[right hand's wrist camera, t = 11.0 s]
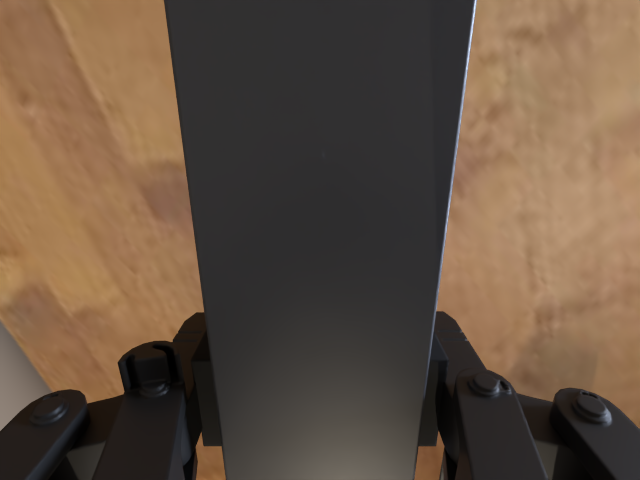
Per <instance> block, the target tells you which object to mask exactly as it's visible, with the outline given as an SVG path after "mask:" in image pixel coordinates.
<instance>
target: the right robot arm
mask: <svg viewBox="0 0 640 480" xmlns="http://www.w3.org/2000/svg"><path fill="white" fill-rule="evenodd" d="M118 366H119V370H120V375H121V379H122V383H123V387H124V391H125V392H124V394H123V395H120V396H117V397H113V398H109V399H105V400H101V401H96V402H92V403H88V404H87V401H86V398H85V395H84V394H82V393H81V392H80V391H77V390H71V389H69V390H61V391H56V392H53V393H50V394H47V395H45V396H43V397H41V398H39V399H37V400H35V401H33V402H31V403H30V404H29V405H28V406H26V407H25V408H24V409H23V410H21V411H20V412H19V413H18V414H17V415H16V416H15V417H14V418H13V419H12V420H11V421H10V422H9V423H8V424H7V425H6V426H5V427H4V428H3V429H2V430H1V431H0V480H196V474H197V463H198V460H197V453H196V444H197V442H198V439H199V436H200V433H201V432H202V438H203V445H204V446H222V444H221V436H220V429H219V421H218V413H217V406H216V398H215V390H214V382H213V375H212V367H211V359H210V352H209V344H208V336H207V328H206V321H205V313H195V314H194V315H193V316H191V317H190V318H188V319H187V320H186V321H185V322H184V323H183V325H182V326H181V328H180V330H179V331H178V334H176V336H175V337H174V339H173V342H168V341H153V342H149V343H144V344H142V345H139V346H137V347H135V348H133V349H131V350H130V351H128V352H127V353H126V354H124V355H123V356H122V357H121V359H120V360H119V362H118ZM438 430H439V433H440V435H441V438H442V441H443V443H444V446H445V447H444V453H443V459H442V465H441V471H440V478H439V480H640V429H639V428H638V427H637V426H636V425H635V424H634V423H633V422H632V421H631V420H630V419H629V418H628V417H627V416H626V415H625V414H624V413H623V412H622V411H621V410H620V409H618V408H617V407H616V406H615V405H613V404H612V403H611V402H610V401H608V400H606V399H604V398H602V397H601V396H599V395H597V394H595V393H592V392H589V391H586V390H583V389H575V388H566V389H560V390H559V391H558V392H557V393H556V394H555V397H554V400H553V402H550V401H546V400H541V399H537V398H533V397H528V396H525V395H521V394H518V393H516V391H515V390H514V388H513V387H512V385H511V384H510V383H509V382H508V381H507V380H506V379H504V378H503V377H502V376H500V375H498V374H496V373H494V372H492V371H490V370H487V369H486V368H485V366H484V365H483V363H482V361H481V360H480V358H479V357H478V355H477V354H476V352H475V350H474V349H473V347H472V346H471V344H470V343H469V341H467V338H466V336H465V335H464V333H463V332H462V330H461V329H460V327H459V325H458V324H457V322H456V321H455V320H454V319H453V318H452V317H450V316H449V315H447V314H446V313H445V312H443V311H436V316H435V324H434V331H433V339H432V347H431V354H430V362H429V370H428V377H427V385H426V393H425V400H424V408H423V415H422V423H421V431H420V438H419V446H436V443H437V436H438Z"/></svg>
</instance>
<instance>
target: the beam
mask: <svg viewBox="0 0 640 480" xmlns="http://www.w3.org/2000/svg"><path fill="white" fill-rule="evenodd" d="M476 2H477V0H164V4H165V12H166V20H167V27H168V35H169V43H170V50H171V58H172V66H173V74H174V81H175V89H176V97H177V105H178V112H179V120H180V128H181V135H182V143H183V151H184V159H185V166H186V174H187V182H188V189H189V197H190V205H191V213H192V220H193V228H194V236H195V243H196V251H197V259H198V267H199V274H200V282H201V290H202V297H203V305H204V313H205V321H206V328H207V336H208V344H209V352H210V359H211V367H212V375H213V382H214V390H215V398H216V406H217V413H218V421H219V429H220V436H221V444H222V452H223V460H224V467H225V475H226V480H414V477H415V469H416V461H417V454H418V446H419V438H420V431H421V423H422V415H423V408H424V400H425V393H426V385H427V377H428V370H429V362H430V354H431V347H432V339H433V331H434V324H435V316H436V308H437V301H438V293H439V285H440V278H441V270H442V262H443V255H444V247H445V239H446V232H447V224H448V216H449V209H450V201H451V193H452V186H453V178H454V170H455V163H456V155H457V147H458V140H459V132H460V124H461V117H462V109H463V101H464V94H465V86H466V78H467V71H468V63H469V55H470V48H471V40H472V32H473V25H474V17H475V10H476Z"/></svg>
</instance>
